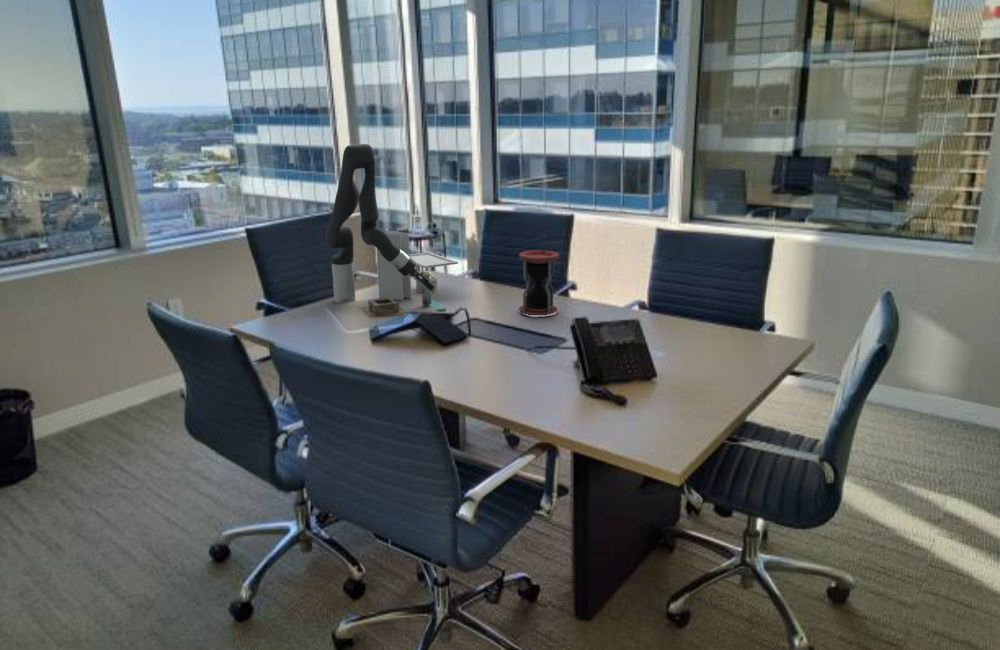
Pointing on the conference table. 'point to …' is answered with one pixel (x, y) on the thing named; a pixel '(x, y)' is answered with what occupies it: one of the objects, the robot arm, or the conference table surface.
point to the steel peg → (426, 289)
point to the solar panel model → (430, 265)
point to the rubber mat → (437, 306)
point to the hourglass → (538, 282)
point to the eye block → (383, 308)
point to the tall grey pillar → (393, 271)
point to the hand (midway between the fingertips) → (430, 287)
